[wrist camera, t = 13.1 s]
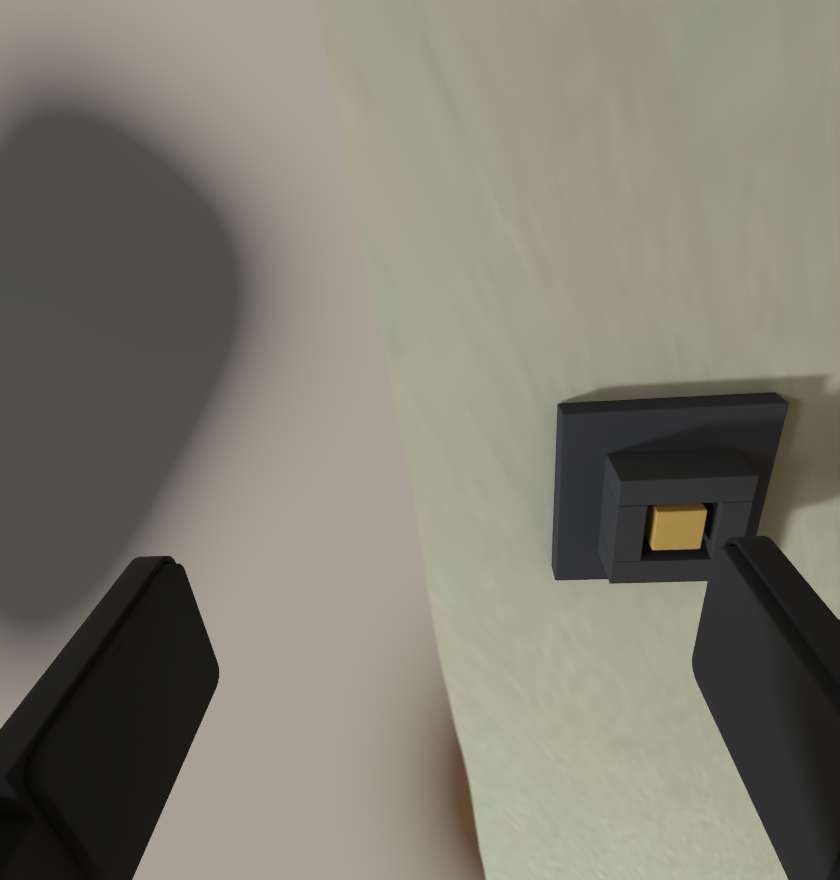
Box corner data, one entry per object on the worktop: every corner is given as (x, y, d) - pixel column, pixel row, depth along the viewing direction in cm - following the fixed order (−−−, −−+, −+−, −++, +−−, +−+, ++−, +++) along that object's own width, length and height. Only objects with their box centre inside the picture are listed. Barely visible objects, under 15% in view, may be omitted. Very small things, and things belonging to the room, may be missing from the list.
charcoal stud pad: (557, 403, 32) (572, 438, 28) (775, 391, 31) (823, 427, 27) (551, 565, 37) (563, 615, 33) (736, 560, 36) (771, 610, 32)
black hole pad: (605, 453, 32) (620, 481, 29) (733, 448, 31) (759, 475, 28) (597, 550, 35) (609, 583, 32) (713, 547, 34) (735, 580, 32)
